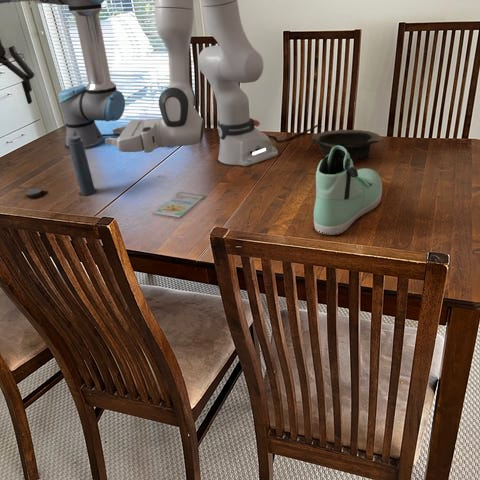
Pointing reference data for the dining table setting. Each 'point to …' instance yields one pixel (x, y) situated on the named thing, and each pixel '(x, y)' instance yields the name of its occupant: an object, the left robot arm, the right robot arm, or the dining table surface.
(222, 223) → the dining table surface
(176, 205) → the baking ingredient package
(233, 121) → the right robot arm
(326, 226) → the sneaker
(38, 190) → the lid
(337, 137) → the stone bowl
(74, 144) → the dark grey cylinder
